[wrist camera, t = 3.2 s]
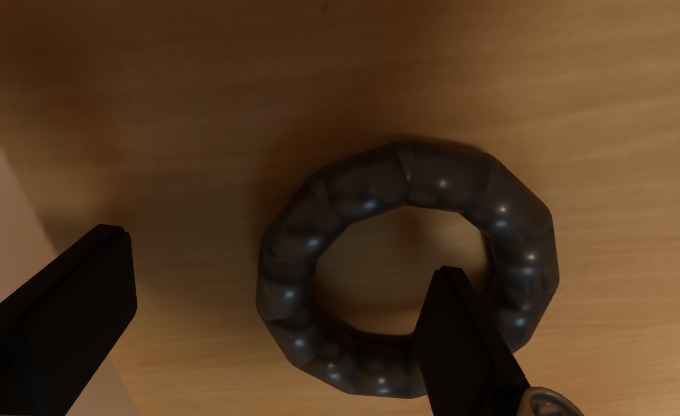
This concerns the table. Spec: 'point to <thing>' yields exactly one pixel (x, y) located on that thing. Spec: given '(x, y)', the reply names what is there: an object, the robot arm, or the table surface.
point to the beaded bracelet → (382, 196)
